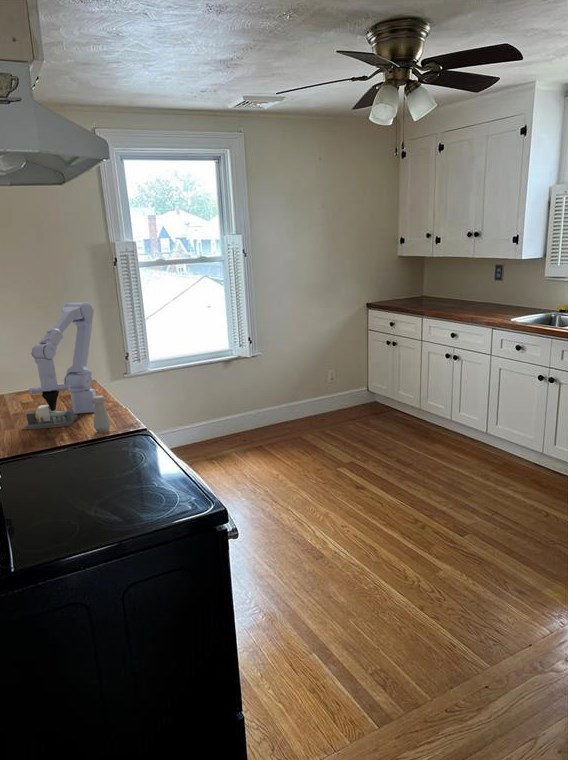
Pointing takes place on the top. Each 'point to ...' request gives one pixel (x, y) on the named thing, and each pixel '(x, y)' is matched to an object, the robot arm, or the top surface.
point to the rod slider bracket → (51, 419)
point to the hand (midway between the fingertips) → (53, 410)
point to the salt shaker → (100, 415)
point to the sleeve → (44, 412)
